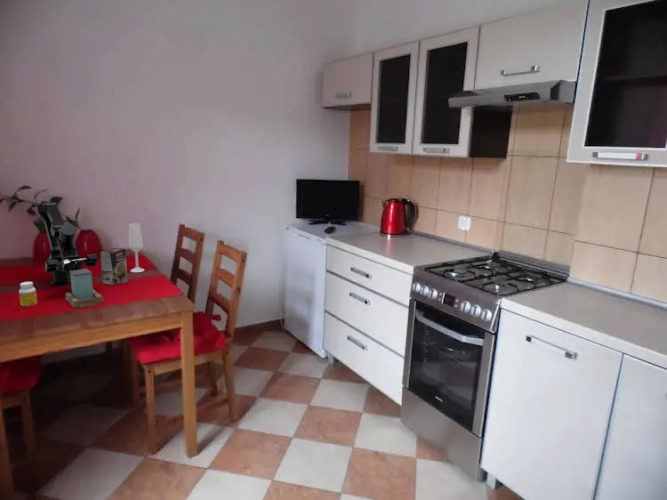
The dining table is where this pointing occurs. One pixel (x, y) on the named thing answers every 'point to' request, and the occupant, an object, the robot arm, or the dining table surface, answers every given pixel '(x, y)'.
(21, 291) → the supplement bottle
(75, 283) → the grey teal box
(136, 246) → the champagne flute
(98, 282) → the dining table surface
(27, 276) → the dining table surface
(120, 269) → the coffee box
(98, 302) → the walnut track
